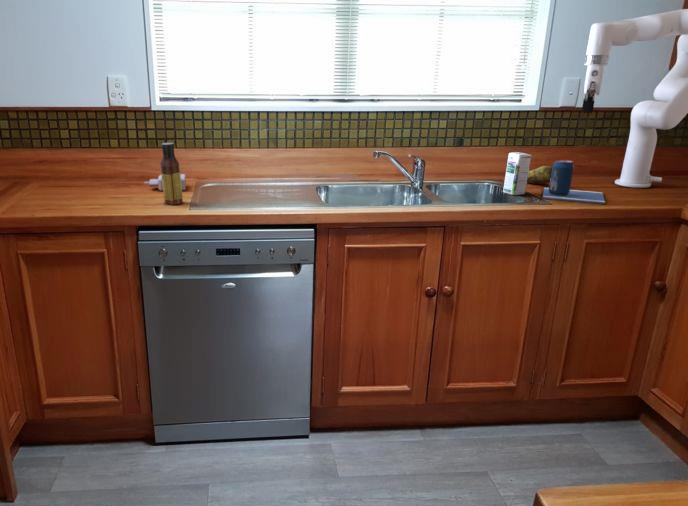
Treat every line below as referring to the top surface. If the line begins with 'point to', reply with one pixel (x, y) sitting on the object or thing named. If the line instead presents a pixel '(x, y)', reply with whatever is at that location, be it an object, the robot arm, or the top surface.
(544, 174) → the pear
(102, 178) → the top surface
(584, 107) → the robot arm
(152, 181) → the charger
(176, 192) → the sauce bottle
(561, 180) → the soda can
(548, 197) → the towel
